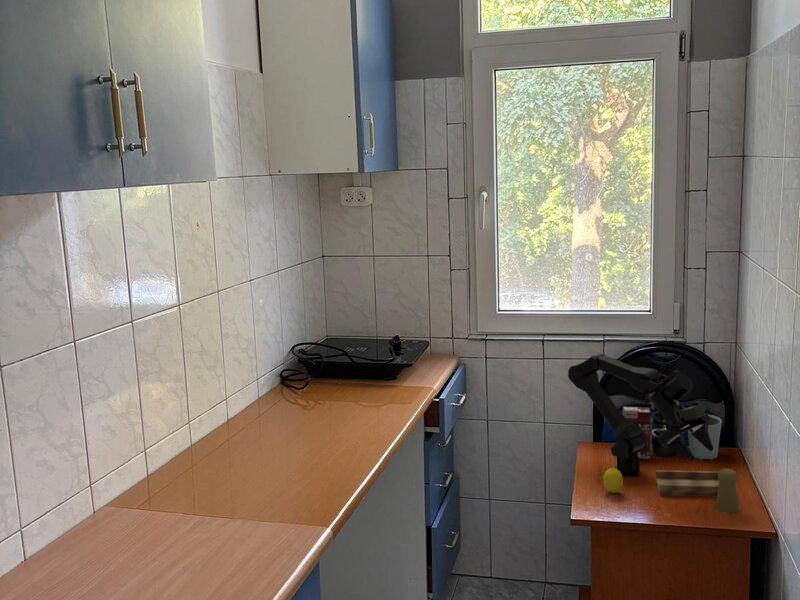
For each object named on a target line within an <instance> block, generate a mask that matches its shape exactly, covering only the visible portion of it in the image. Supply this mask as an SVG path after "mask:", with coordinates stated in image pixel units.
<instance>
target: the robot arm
mask: <svg viewBox="0 0 800 600" xmlns="http://www.w3.org/2000/svg"><path fill="white" fill-rule="evenodd" d="M598 371H601V372H604V373H606V374H609V375H612V376H614V377H617V378H619V379H620V380H621V379H622V380H624V381H626V382H628V383H629V384H630V386H631V387H632V388H634V389H635V390H637V391H638V392H640V393H643V394H644V393H645V400H644V404H645V405H648V404H650V403H651V402H652V403H653V404H654V406H655V407H656V409H657V410H658V411H659V413H660V414H661V415H662V417H661V418H660V419H661V421H664V420H665V421H666V422H667V424H668V425H669V426H670V428H668V429H666V430H665V431H664V432H663V433H661V434H660V435H659V436H658V437H657V441H658V442H659V444H660V445H661V447H666V448H667V447H668V448H670V449H672V450H674V451H676V452H678V453H679V455H682V457H685V458H686V459H689V460H690V461H694V460H695V459H696V458H694V456H693V454H692V452H691V451H690V449H689V445H687V442H686V441H685V434H684V433H686V432H688V430H689V431H691V432H693V433H692V435H693V436H694V437H695V438H696V439H697V440H698V441H699V442H700V443H701V444H703V445H704V446H705V447H706V448H707V449H708V450H710V451H712V450H713V446H712V443H711V440H710V437H709V434H708V426H709V424H710V422H709V421H710V420H711V418H710V417H709V416H708V415H709V414H708V413H705V411H706V409H707V408H706V406H705V404H704V403H703V402H702V401H701V400H696V401H693V402H692V404H691V405H690V406H688V407H686V406H685V405H684V404H679V405H678V403H677V402H676V401H675V400H677V401H680V400H681V399H682V398H683V397H685V396H686V395H687V394H688V393H690V392H691V391H692V390H693V389H694V382H693V380H692V379H691V377H689V376H688V375H687V374H684V373H681V371H679V370H678V369H677V370H674V371H673V372H671V373H670V375H669V376H667V375H666V374H662V373H660V372H659V370H657V369H654V368H649V367H637V366H632V365H631V364H627V363H625V362H623V361H621V360H618V359H615V358H612V357H610V356H608V355H606V354H604V353H598V354H597V353H596V354H594V355H592V356H590V357H589V358H588V359H586V360H585V361H583V362H580V363H578V364H574V365H571V366H570V367H569V368H568V372H567V376H568V380H569V381H570V382H571V383H572V384H573V385H574V386H575V387H576V388H577V389H579V390H581V391H583V392H585V393H586V395H587V396H588V397H589V398H590V400H591V401H592V402H593V404H594V405H595V407H596V408H597V409H598V411H599V412H600V414H601V415H602V416H603V417H604V419H605V421H607V423H608V424H609V426H610V427H611V429H612V431H613V437H614V441H615V442H616V443H615V444H614V445H612V446H611V447H610V452H611V455H612V456H614V457H615V467H614V468H615V469H617V470H619V471H620V472H621V474H622V477H639V473H640V472H641V471H640V470H641V463H640V462H641V460H640V459H641V458H639V456H638V454H637V453H638V452H641V451H642V448H643V447H644V446H645V444H646V436H645V435H644V433H645V432H644V431H643V430H642V429H641V428H640V426H639V425H638V423H637V422H634V423H630V422H628V421H627V420H626V419H625V418H624V416H623V413H622V412H621V411H620V409H619V408H618V407H617V406H616V404H615V403H614V401H613V400H612V399H611V397H610V396H609V394H608V393H607V392H606V391H605V389H604V388H603V387H602V386H601V384H600V380H599V373H598ZM660 388H662V389H660ZM651 391H653V392H651ZM649 392H651V393H649ZM647 393H648V394H647ZM707 422H708V423H707ZM667 443H668V444H667ZM666 444H667V445H666ZM663 445H666V446H663Z"/></svg>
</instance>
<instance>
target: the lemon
mask: <svg viewBox="0 0 800 600" xmlns="http://www.w3.org/2000/svg"><path fill="white" fill-rule="evenodd" d="M623 477H624V476H622V474H621V472H620V471H619V470H617V469H616V468H615V467H611V468H608V469H606V470H605V472H604V474H603V479H602V480H603V486H604V488H605V489H606V490H607V491H608V492H610V493H612V494H615V493H617V492H619V491H621V489H622V488H623V484H624V479H623Z"/></svg>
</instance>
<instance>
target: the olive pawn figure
mask: <svg viewBox="0 0 800 600" xmlns="http://www.w3.org/2000/svg"><path fill="white" fill-rule="evenodd" d="M717 472H718V480H719V481H720V483H719V488H718V494H717V497H716V500H715V506H716V507H715V509H716V510H717V511H719V512H721V513H725V514H726V513H727V514H734V513H737V512H739V510H740V506H739V499H738V498H739V497H738V491H737V482H738V480H739V475H738V473H737V471H735V470H734V469H730V468H722V469H720V470H719V471H717Z"/></svg>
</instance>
